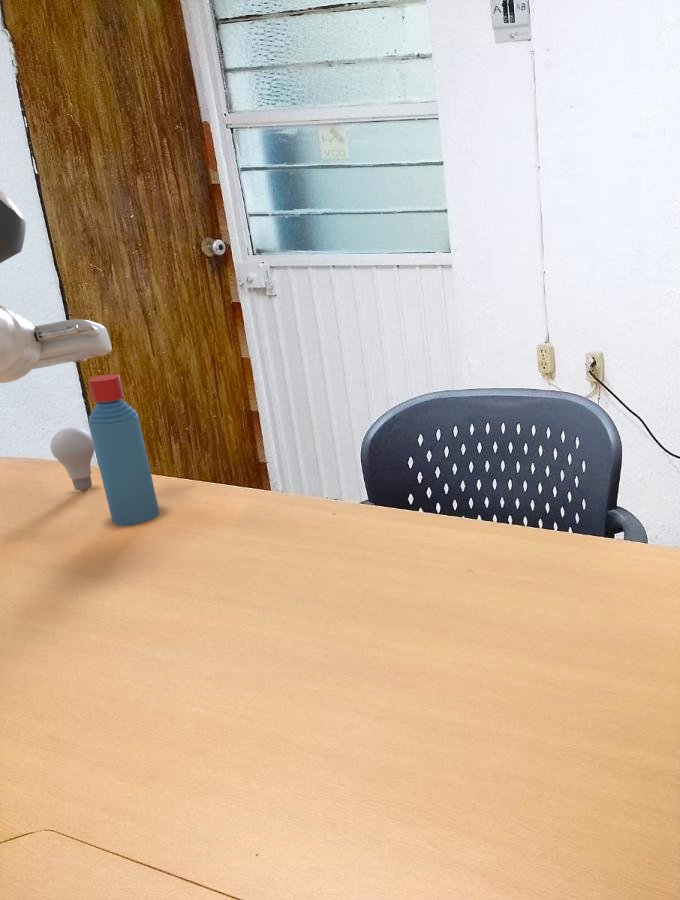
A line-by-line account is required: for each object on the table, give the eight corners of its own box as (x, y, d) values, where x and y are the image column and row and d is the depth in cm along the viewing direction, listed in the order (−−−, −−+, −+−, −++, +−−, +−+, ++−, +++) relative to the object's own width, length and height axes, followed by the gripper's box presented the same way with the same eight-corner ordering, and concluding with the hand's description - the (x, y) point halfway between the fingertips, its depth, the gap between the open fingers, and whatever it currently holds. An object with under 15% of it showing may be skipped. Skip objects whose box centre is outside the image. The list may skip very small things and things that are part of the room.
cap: (88, 403, 118) (83, 382, 117) (98, 395, 122) (93, 375, 121) (118, 401, 119) (114, 380, 118) (127, 393, 122) (123, 373, 121)
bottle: (106, 528, 123) (71, 388, 116) (120, 511, 129) (88, 377, 122) (152, 523, 124) (121, 384, 117) (164, 507, 130) (135, 374, 123)
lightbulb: (54, 496, 135) (36, 433, 132) (84, 483, 141) (68, 421, 137) (84, 499, 134) (68, 435, 130) (114, 485, 140) (99, 423, 136)
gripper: (83, 300, 99) (119, 324, 113) (-114, 336, 94) (-51, 356, 107) (97, 350, 99) (131, 369, 113) (-100, 389, 94) (-39, 404, 107)
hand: (41, 363), depth 110 cm, fingers open, 8 cm apart
